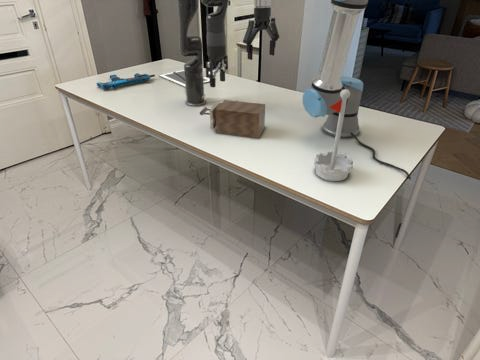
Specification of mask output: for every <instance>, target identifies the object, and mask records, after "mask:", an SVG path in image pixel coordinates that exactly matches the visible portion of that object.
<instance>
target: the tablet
mask: <svg viewBox="0 0 480 360" xmlns="http://www.w3.org/2000/svg"><path fill="white" fill-rule="evenodd" d="M173 72H175V73H177V74H178V75H180V76H181V77H183V78H184V79H185V73H184V69H182V70H181V69H180V70H176V71H172V72H167V73H163V74H158V76H159V77H161V78H163V79H165V80H167V81H170V82H173V83H175V84H177V85H179V86H182V87H184V88H186V86H185V81H184V80H183V79H182V78H181V77H179V76H178V75H176V74H175V73H173ZM203 82H204V84H205V83H206V84H207V83H210V78H208V77H206V76H203Z"/></svg>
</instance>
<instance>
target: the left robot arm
mask: <svg viewBox="0 0 480 360" xmlns="http://www.w3.org/2000/svg"><path fill="white" fill-rule="evenodd" d="M176 1H177V14H178V15H177V16H178V50H179V54H180V56H181V57H184V58H187V57H193V58H192V59H191V60H189V61H187V62H185V64H183V70H184V73H185V79H184V78H183V77H181V76H180V75H178V74H177V73H175V72H176V71H172V72H173V73H175V74H176V75H178V76H179V77H181V78H182V79H183V80H184V81H185V86H186V87H185V96H186V97H185V98H186V104H187V105H188V106H191V107H198V106H202V105H205V103H206V99H205V98H206V93H205V83H204V82H203V77H204V71H203V69H204V68H203V65H204V63H203V41H202V37H201V36H200V35H198V34H196V35H195V34H192V35H188V30H189V28H190V25H191V23H192V21H193V19H194V18H195V16H196V14H197V12H198V10H199V0H176ZM229 1H230V0H200V2H201V4H202V5H203V6H205V7H207V8H214V7H216V10H215V11H213V12H212V13H209V14H207V15H206V17H205V22H206V53H207V54H206V55H207V56H208V57H209V58H210V59H209V61H206V62H205V77H206V78H209V79H210V82H209V87H210V88H216V86H217V85H216V75H217V74H218V72H219V81H220V82H225V81H226V73H227V71H228V70H229V61H228V59H229V58H228V55H227V36H226V14H227V11H228V10H227V9H228V5H229Z"/></svg>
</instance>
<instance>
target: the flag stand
mask: <svg viewBox="0 0 480 360" xmlns="http://www.w3.org/2000/svg"><path fill="white" fill-rule="evenodd" d="M340 96H341V98H342V99H341V100H340V101H338V102H337V103H335V104H334V105H332V106H331V107H329V108H331V109H333V110H335V111H337V112H340V113H339V119H338V125H337V131H336V137H335V138H334V143H333V150H326V151H325V152H326V153H323V152H322V151H319V152H317V153H316V156H315V157H314V159H313V160H314V161H313V165H314V168H315V173H316V175H317V176H318V177H319V178H321V179H322V180H325V181H330V182H340V181H341V182H342V181H343V180H346V179H347V177H348V175H349V173H351V172H352V170H353V166H354V159H353V158H352V157H348V154H347V153H344V152H339V147H340V146H339V145H340V141H341V138H340V135H341V130H342V124H343V118H344V113H345V107H346V101H347V98H349V96H350V92H349V90H347V89H344V90H342V91H341V93H340ZM338 152H339V153H338Z"/></svg>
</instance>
